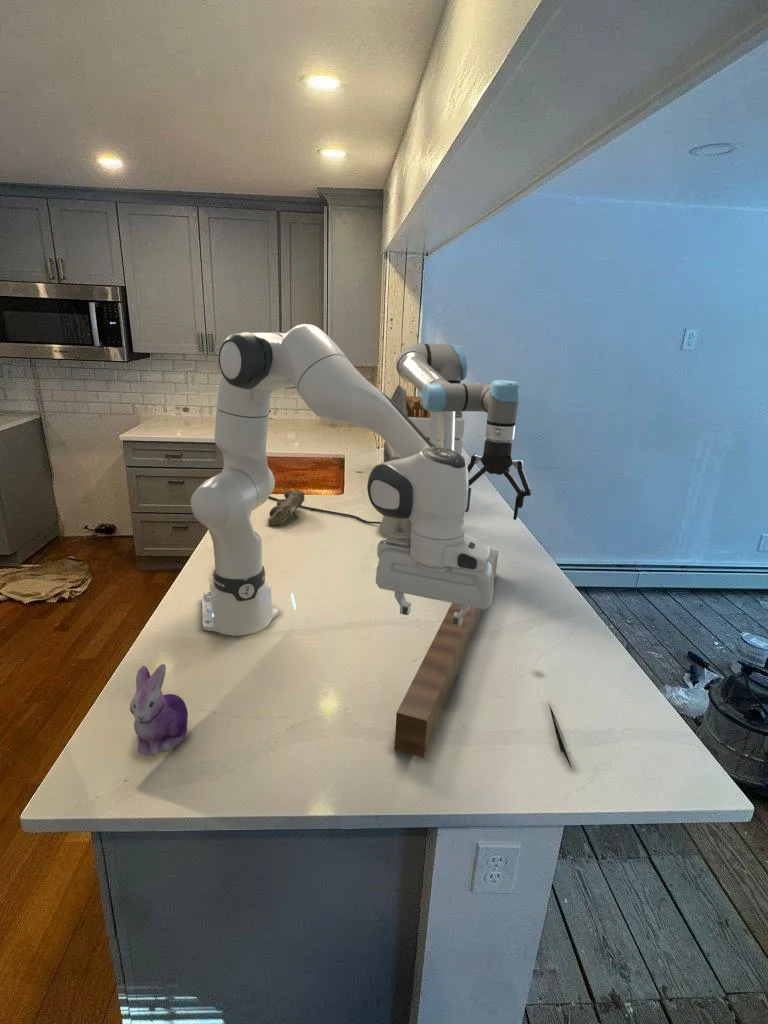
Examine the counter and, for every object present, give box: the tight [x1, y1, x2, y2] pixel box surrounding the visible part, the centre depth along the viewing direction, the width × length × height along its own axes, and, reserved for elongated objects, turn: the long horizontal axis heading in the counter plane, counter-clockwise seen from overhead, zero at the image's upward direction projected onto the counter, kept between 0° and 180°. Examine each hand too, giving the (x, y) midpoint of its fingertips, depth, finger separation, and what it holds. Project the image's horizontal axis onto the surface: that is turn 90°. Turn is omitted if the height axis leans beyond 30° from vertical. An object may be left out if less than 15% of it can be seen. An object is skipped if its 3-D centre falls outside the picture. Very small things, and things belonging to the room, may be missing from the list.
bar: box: [393, 548, 500, 759], centre depth 135 cm, size 80×6×8 cm, turn 160°
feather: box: [548, 702, 572, 767], centre depth 112 cm, size 2×28×2 cm
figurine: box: [129, 663, 189, 757], centre depth 99 cm, size 9×10×15 cm
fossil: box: [267, 489, 305, 527], centre depth 209 cm, size 22×10×15 cm
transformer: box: [383, 384, 465, 463], centre depth 268 cm, size 34×33×41 cm
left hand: (430, 618), depth 99 cm, fingers open, 8 cm apart
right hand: (490, 514), depth 159 cm, fingers open, 13 cm apart
